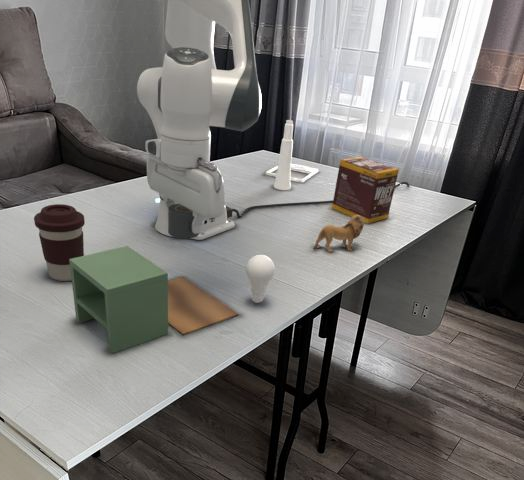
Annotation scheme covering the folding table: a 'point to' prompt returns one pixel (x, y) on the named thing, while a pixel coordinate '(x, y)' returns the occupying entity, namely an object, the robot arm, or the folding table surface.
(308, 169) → the photo frame
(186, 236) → the tape roll
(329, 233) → the lion figurine
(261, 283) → the lightbulb
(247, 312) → the folding table surface
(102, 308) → the shelf
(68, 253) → the coffee cup
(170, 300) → the copper sheet
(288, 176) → the white tapered tower
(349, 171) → the supplement box
